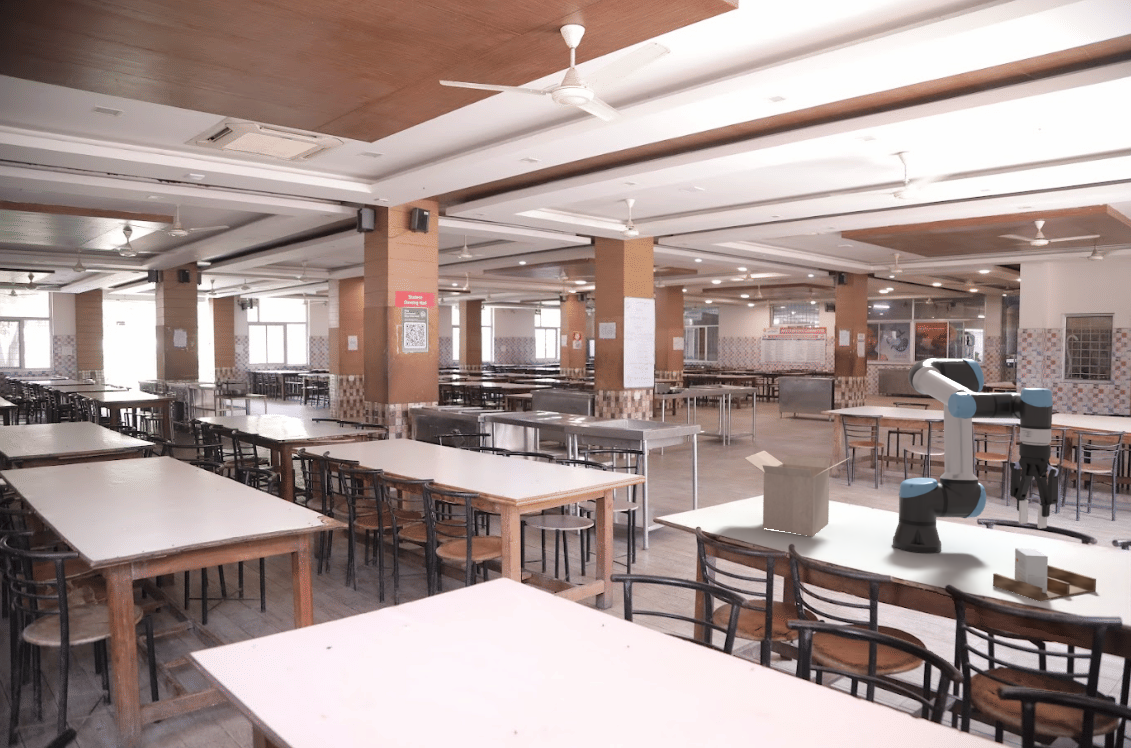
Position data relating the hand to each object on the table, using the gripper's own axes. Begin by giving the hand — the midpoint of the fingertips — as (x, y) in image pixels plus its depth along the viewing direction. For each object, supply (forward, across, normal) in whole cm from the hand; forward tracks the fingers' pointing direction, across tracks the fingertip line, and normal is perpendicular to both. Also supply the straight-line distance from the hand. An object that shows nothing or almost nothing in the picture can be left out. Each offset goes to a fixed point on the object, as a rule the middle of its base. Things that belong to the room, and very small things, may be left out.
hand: (1032, 525), depth 213 cm
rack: (+19, 0, +6) cm, 20 cm away
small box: (+18, 0, 0) cm, 18 cm away
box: (+19, -84, -14) cm, 87 cm away
